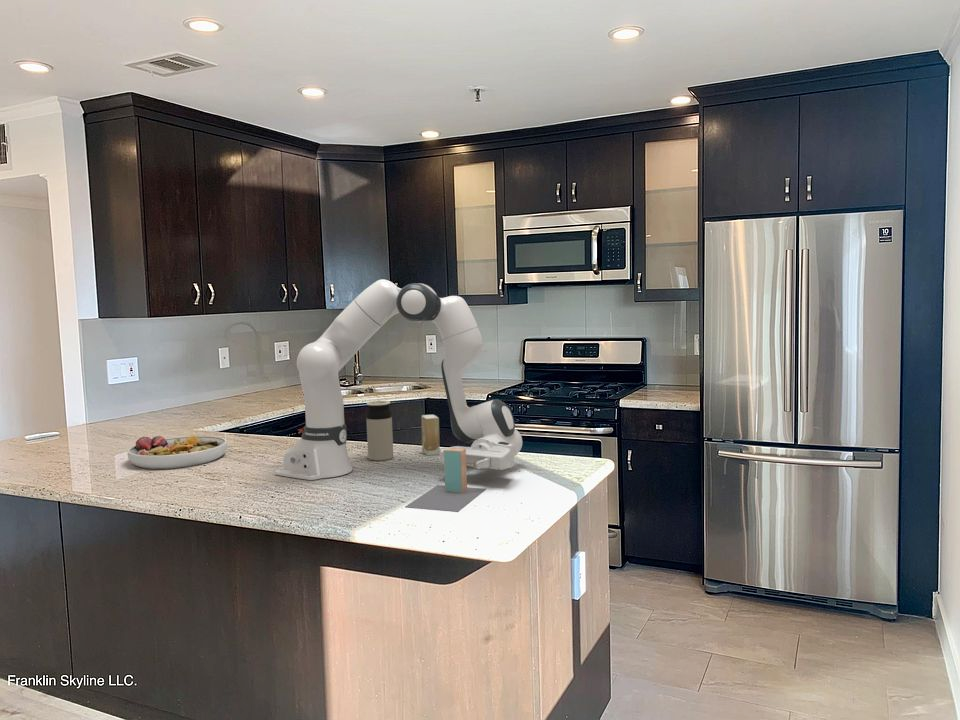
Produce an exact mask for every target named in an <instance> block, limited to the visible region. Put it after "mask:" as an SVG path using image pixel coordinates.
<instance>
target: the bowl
mask: <svg viewBox="0 0 960 720" xmlns="http://www.w3.org/2000/svg"><path fill="white" fill-rule="evenodd" d="M227 449H228V440H227V439H226V438H223V437H219V436H211V435H210V436H209V435H208V436H206V435H203V436H199V435H194V434H191V435H190V436H181V437H171V438H164V437H163V436H160V435H159V436H158V435H157V436H154V437H152V438H151V437H149V436H142V437H140V438H139V439H137V440H136V441H135V445H134V446H132V447H129V448H128V449H127V457H128V460H129V461H130V463H132V464H133V465H134V466H137V467H139V468H143V469H150V470H166V469H167V470H169V469H180V468H188V467H194V466H198V465H199V466H200V465H203V464H207V463H210V462H213V461H215V460H217V459H219V458H221V457H222V456H223V455H224V454H225V452H226V451H227Z"/></svg>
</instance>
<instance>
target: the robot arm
mask: <svg viewBox="0 0 960 720" xmlns="http://www.w3.org/2000/svg"><path fill="white" fill-rule="evenodd" d="M397 314H400V315H401V316H402V318H404V319H406V320H407V321H410V322H414V323H422V322H432V323H433V324H434V325H435V326H436V328H437V330H438V332H439V335H440V337H441V338H440V339H441V340H442V343H443V349H444V357H443V359H442V361H441V366H440V368H441V375H442V380H443V381H442V382H443V385H444V391H445V395H446V399H447V405H448V408H449V409H448V411H449V414H450V427H451V431H452V434H453V436H455V438H456V439H457V440H458V441H461V442H463V443H465V444H470V443H471V445H470V446H463V445H462V446H461V445H456V446H450V447H445V448H442V449H440V454H439V462H440V464H442V465H443V466H444V449H447V448H461V449H466V467H473V469H475V470H484V471H485V470H486V471H487V470H490V469H491V470H492V469H493V470H506V469H512V468H513V467H514V463H515V457H516V456H517V455H518V454H519V453H520V451H521V450H522V447H523V437H522V435H521V433H520V431H518V430H517V429H516V424H515V423H516V422H515V418H514V414H513V412H512V410H511V408H510V407H509V406H508V405H507V404H506V403H505V402H504V401H502V400H501V399H498V398H495V399H492V400H487V401H485V402H482V403H479V404H477V405H472V406H468V405H467V400H466V395H465V390H464V385H463V375H464V373H465V371H466V370H467V369H468V368H469V367H470V366H471V365H472V364H474V362H475V361H476V360H477V359H478V358H479V357H480V354H481V352H482V349H483V346H484V343H483V336H482V333H481V331H480V329H479V326H478V323H477V321H476V318H475V316H474V314H473V313H472V309H471V307H469V305H468V304H467V302H466V300H465V299H464V298H463V297H461V296H459V295H449V296H446V297H445V296H444V297H439V296H438V294H437V291H435V289H433V288H432V287H431V286H429V285H428V284H425V283H420V282H419V283H414V282H413V283H409V284H407V285H405V286H403V287H402V288H400V287H398V286H397V285H396V284H395V283H393V282H392V281H390V280H387V279H378V280H376V281H375V282H372V284H370V285H369V286H368V287H367V288H365V289H363V290H362V292H360V293H359V294H358V295H357V296H356V297H355V298H354V299H353V300H352V301H351V302H350V303H349V304H348V305H347V306H346V307H345V308H344V309H343V310H342V311H341V312H340V313H339V314H338V315H337V316H336V318H334V320H333V321H332V323H331V324H330V325H329V326H328V327H327V328H326V329H325V331H324V332H323V333H322V335H321V336H320V337H319V338H318V339H316V340H315V341H314V342H313V341H312V342H310V343H308V344H306V345H305V346H303V347H302V348H301V349H300V351H299V353H298V355H297V358H296V369H297V371H298V372H299V373H298V374H299V379H300V384H301V389H302V393H303V401H304V411H305V425H304V426H303V427H302V428H299V429H298V431H299V432H298V434H301V437H300V438H299V440H298V441H296V443H294V444H293V445H292V446H291V447H290V448H288V449H287V450H286V451H285V452H284V455H283V458H282V459H283V460H282V461H283V462H282V466H281V467H279V468H277V469H276V470H275V474H274V475H276V476H280V477H282V476H283V477H288V478H294V479H300V480H307V481H314V480H315V481H316V480H319V479H326V478H334V477H336V478H337V477H339V476H343V475H347V474H349V473H351V472H352V471H353V468H352V465H351V462H350V458H349V454H348V447H347V436H348V435H347V425H346V423H345V410H344V409H345V408H344V396H343V394H342V390H341V388H342V387H341V384H340V379H339V372H340V371H341V370H342V369H343V368H344V367H345V365H347V363H348V362H349V361H350V360H352V358H353V357H354V356H355V355H356V353H358V352H359V351H360V350H361V348H362V347H363V346H364V345H365V344H366V343H367V342H368V341H369V340H370V339H371V338H372V337H373V336H374V335H375V334H376V333H377V332H378V331H379V330H380V329H381V328H382V327H383V326H384V325H385V324H386V323H387V321H389V320H390V319H391V318H392V317H393V316H395V315H397Z"/></svg>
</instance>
